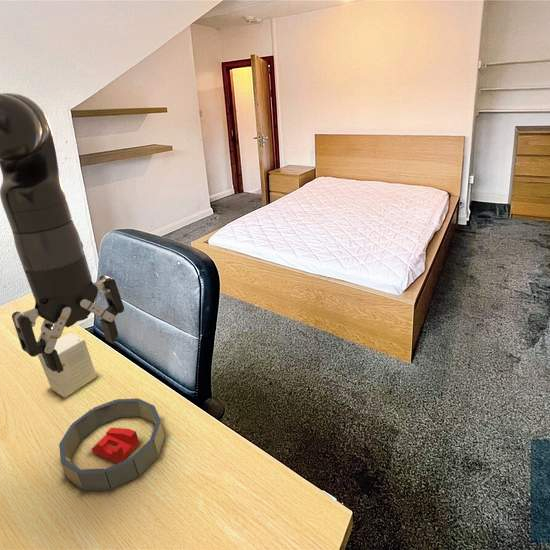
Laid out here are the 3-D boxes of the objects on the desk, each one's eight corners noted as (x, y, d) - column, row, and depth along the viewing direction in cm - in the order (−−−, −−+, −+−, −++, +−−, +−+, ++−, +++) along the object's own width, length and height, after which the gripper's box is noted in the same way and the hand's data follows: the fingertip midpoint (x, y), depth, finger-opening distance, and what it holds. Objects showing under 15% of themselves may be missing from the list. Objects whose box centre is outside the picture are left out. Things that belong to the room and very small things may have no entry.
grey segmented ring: (70, 508, 64) (63, 491, 62) (63, 437, 77) (57, 421, 75) (174, 460, 71) (170, 443, 69) (151, 402, 84) (147, 387, 82)
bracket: (139, 443, 74) (135, 431, 73) (120, 464, 71) (116, 452, 69) (113, 433, 77) (109, 421, 76) (93, 453, 73) (88, 441, 72)
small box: (83, 369, 95) (70, 331, 91) (97, 377, 92) (85, 338, 88) (50, 389, 90) (35, 350, 85) (64, 399, 87) (49, 358, 82)
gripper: (88, 235, 62) (114, 325, 69) (-16, 270, 52) (26, 371, 59) (116, 244, 57) (140, 339, 64) (7, 284, 48) (50, 391, 55)
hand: (85, 354), depth 62 cm, fingers open, 8 cm apart
